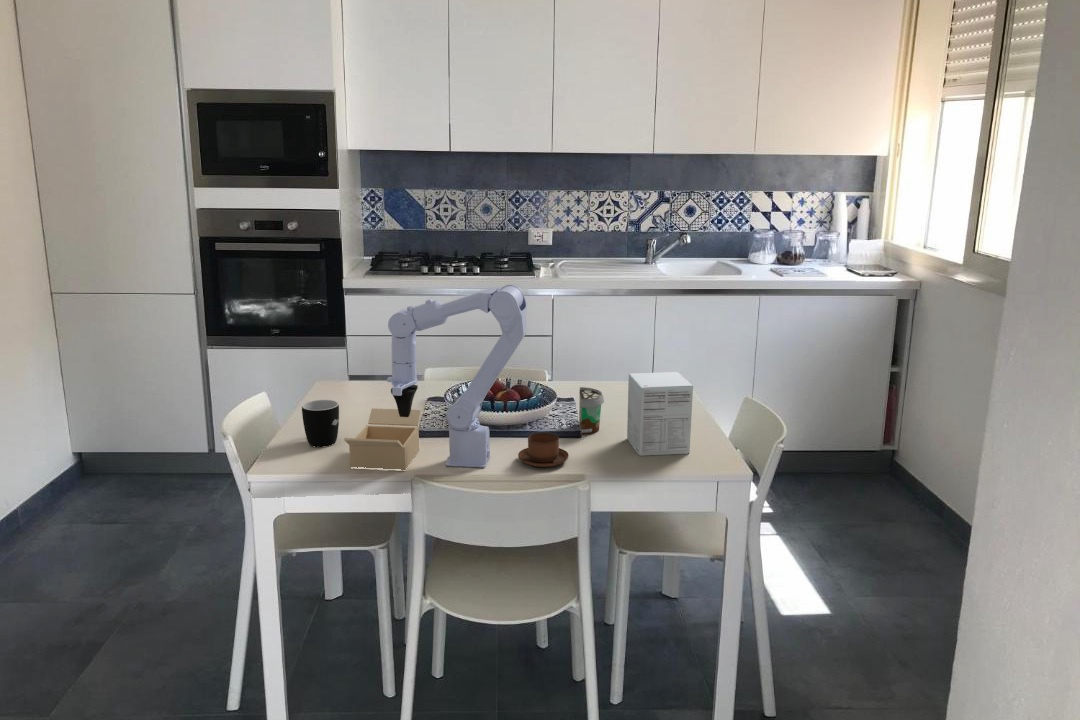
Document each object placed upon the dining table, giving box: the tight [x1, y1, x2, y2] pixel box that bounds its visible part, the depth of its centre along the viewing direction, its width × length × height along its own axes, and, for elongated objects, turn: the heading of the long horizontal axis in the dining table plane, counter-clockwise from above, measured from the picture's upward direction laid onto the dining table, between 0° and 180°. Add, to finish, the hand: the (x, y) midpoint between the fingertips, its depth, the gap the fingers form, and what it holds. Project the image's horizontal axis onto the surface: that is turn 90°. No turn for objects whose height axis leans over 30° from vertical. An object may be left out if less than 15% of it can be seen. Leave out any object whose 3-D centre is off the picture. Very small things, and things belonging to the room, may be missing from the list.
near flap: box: [343, 437, 403, 447], centre depth 205 cm, size 12×4×1 cm
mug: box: [301, 399, 340, 448], centre depth 227 cm, size 12×9×10 cm
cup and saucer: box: [517, 432, 569, 468], centre depth 214 cm, size 12×12×6 cm
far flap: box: [367, 407, 422, 427], centre depth 223 cm, size 12×4×1 cm
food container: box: [578, 386, 605, 436], centre depth 237 cm, size 12×6×10 cm, turn 0°
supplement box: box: [626, 371, 694, 457], centre depth 224 cm, size 13×13×18 cm
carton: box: [348, 425, 420, 471], centre depth 215 cm, size 13×14×6 cm
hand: (404, 416), depth 214 cm, fingers closed
